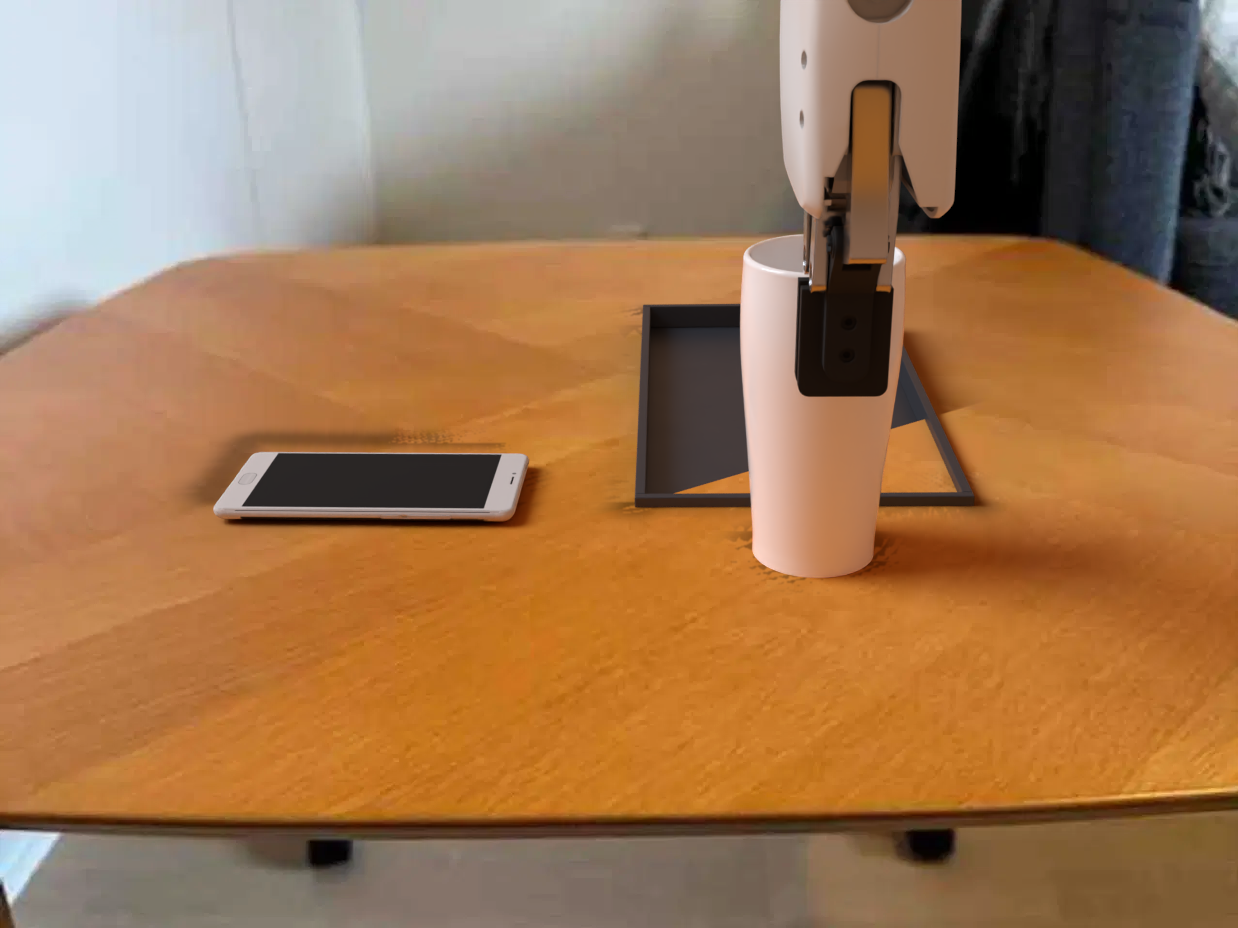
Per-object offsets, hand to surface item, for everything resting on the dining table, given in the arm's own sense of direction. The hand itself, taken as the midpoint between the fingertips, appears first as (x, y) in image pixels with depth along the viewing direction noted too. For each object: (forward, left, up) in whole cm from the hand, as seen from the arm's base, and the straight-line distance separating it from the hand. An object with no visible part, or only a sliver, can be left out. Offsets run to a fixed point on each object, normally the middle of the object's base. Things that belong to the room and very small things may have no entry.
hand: (840, 387), depth 53 cm
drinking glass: (-5, -7, -12) cm, 15 cm away
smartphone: (+7, -27, -12) cm, 30 cm away
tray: (-16, -23, -12) cm, 31 cm away
